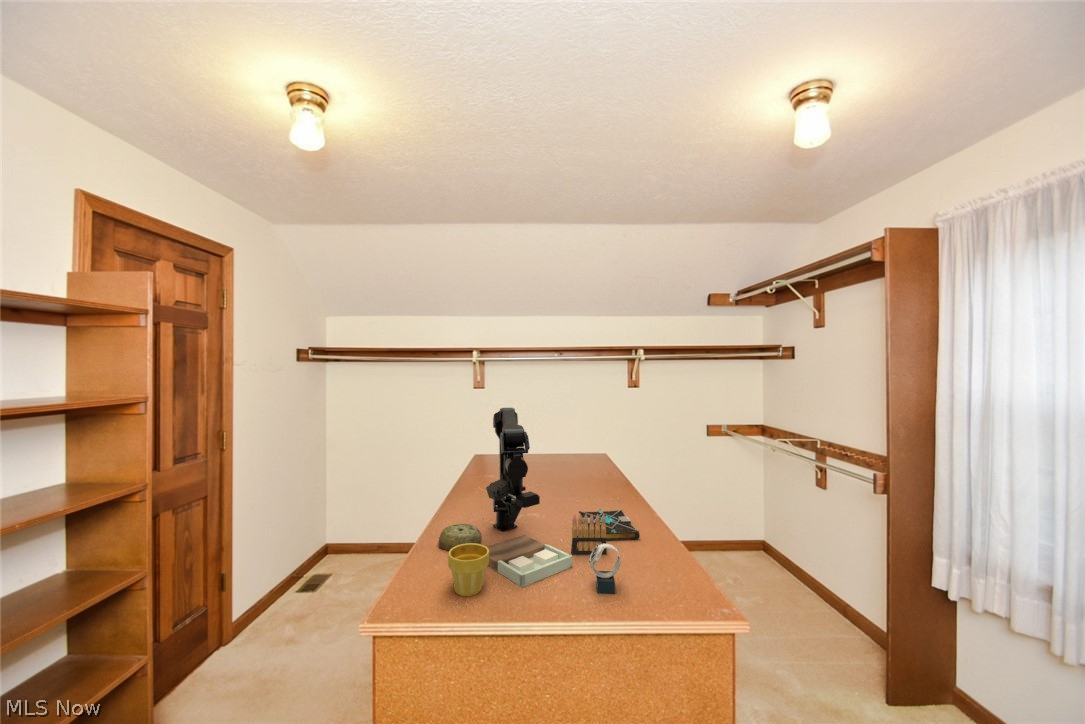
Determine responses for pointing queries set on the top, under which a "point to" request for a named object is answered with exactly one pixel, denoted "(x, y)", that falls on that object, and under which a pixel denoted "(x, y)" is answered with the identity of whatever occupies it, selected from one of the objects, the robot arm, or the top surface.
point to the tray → (536, 568)
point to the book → (614, 525)
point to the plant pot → (468, 567)
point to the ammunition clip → (587, 535)
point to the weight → (459, 536)
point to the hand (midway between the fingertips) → (513, 521)
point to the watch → (604, 578)
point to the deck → (513, 550)
